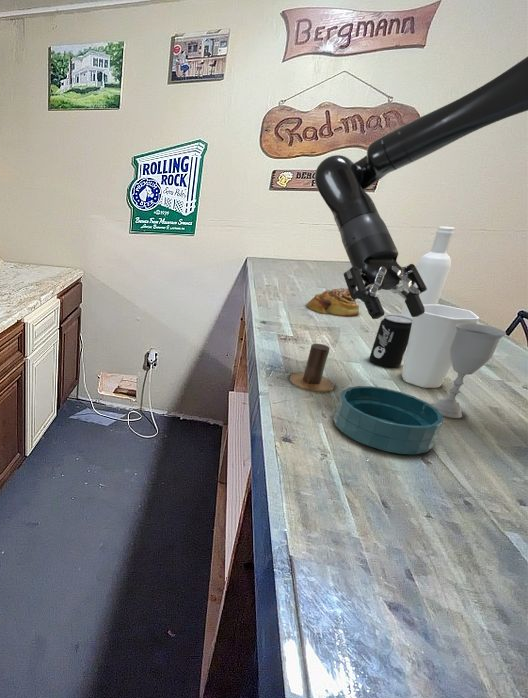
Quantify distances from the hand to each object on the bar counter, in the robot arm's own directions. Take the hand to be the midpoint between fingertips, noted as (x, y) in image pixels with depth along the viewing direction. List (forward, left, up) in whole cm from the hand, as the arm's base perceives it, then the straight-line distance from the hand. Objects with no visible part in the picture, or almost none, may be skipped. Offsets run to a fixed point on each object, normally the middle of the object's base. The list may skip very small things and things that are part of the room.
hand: (399, 316), depth 85 cm
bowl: (0, +8, -21) cm, 22 cm away
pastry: (-6, -76, -21) cm, 79 cm away
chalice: (-15, -6, -21) cm, 27 cm away
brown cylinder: (+9, -11, -20) cm, 25 cm away
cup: (-15, -21, -21) cm, 33 cm away
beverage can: (-10, -30, -21) cm, 38 cm away
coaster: (+9, -11, -21) cm, 25 cm away
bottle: (-26, -65, -21) cm, 73 cm away
